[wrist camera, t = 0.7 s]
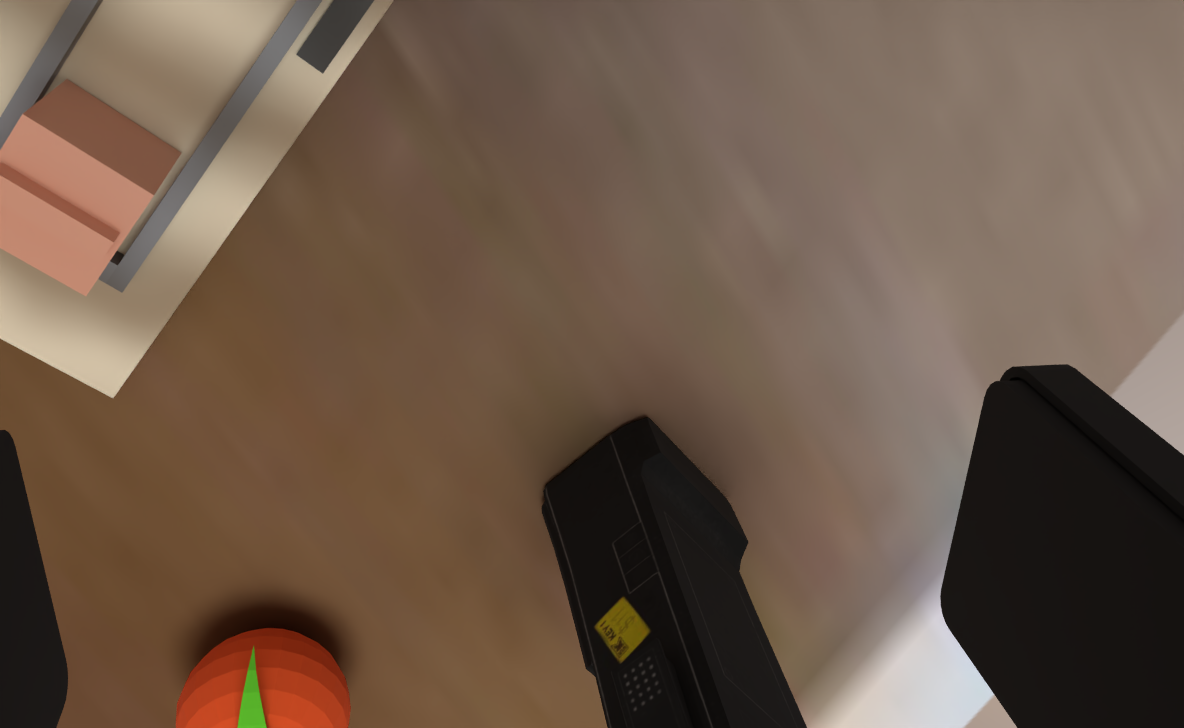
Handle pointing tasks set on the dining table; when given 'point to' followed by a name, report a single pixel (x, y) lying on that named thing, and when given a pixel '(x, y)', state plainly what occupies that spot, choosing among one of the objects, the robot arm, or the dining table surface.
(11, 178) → the tab
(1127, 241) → the dining table surface
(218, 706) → the clementine
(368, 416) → the dining table surface
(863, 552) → the dining table surface
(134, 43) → the switch board
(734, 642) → the portable radio
